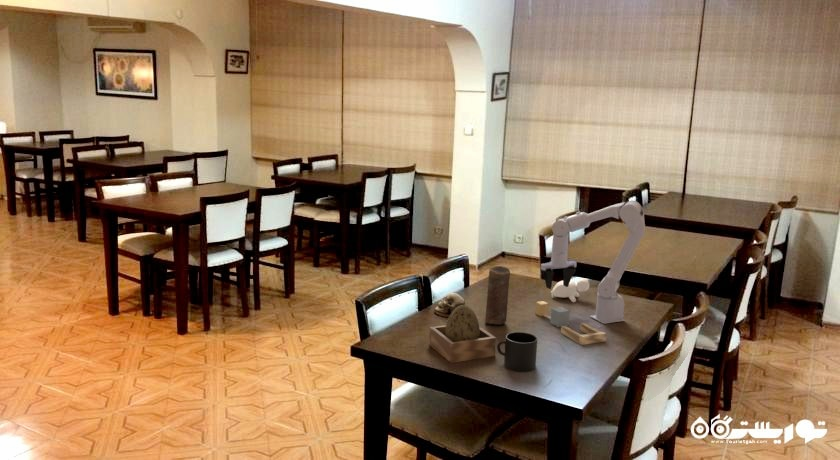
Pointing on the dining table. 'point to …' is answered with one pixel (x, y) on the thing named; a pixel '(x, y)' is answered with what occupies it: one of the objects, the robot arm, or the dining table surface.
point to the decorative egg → (462, 324)
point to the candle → (497, 295)
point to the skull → (449, 304)
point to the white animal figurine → (570, 289)
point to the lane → (588, 338)
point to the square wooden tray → (462, 345)
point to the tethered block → (553, 314)
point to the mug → (519, 351)
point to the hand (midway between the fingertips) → (557, 287)
